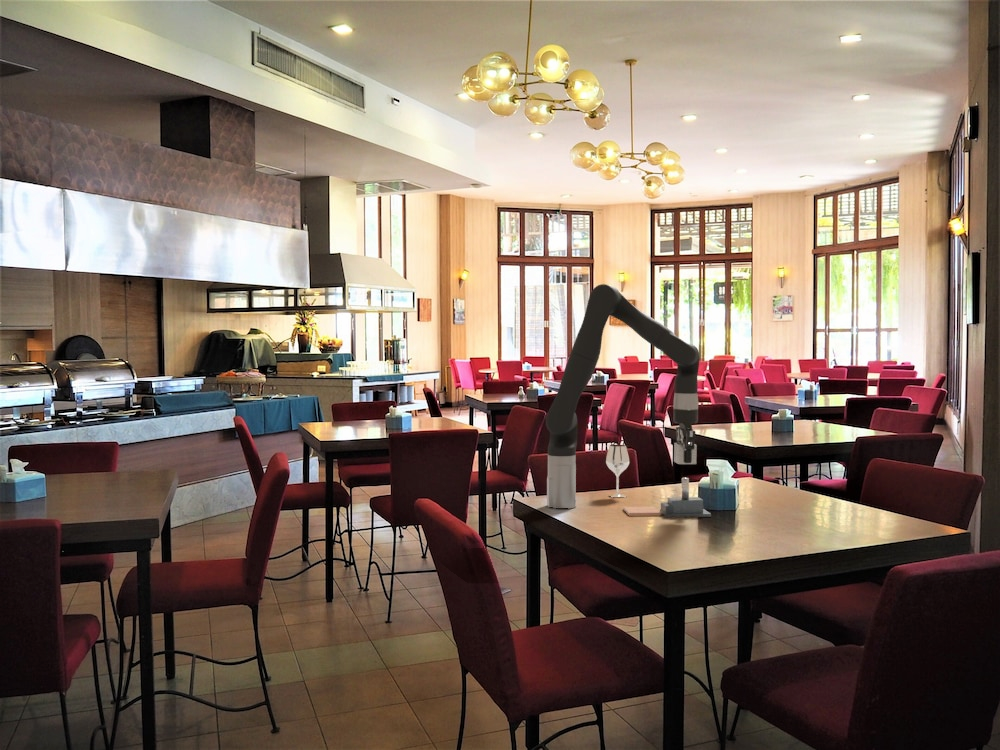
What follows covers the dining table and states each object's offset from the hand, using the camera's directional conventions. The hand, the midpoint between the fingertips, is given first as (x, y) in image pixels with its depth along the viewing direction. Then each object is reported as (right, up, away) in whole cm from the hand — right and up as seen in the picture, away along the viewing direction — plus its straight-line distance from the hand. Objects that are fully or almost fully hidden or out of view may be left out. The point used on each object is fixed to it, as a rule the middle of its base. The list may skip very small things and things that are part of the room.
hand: (685, 461), depth 266 cm
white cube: (0, 0, 0) cm, 1 cm away
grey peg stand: (0, -17, +1) cm, 17 cm away
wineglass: (-16, -16, +34) cm, 41 cm away
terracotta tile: (-13, -17, +4) cm, 22 cm away
